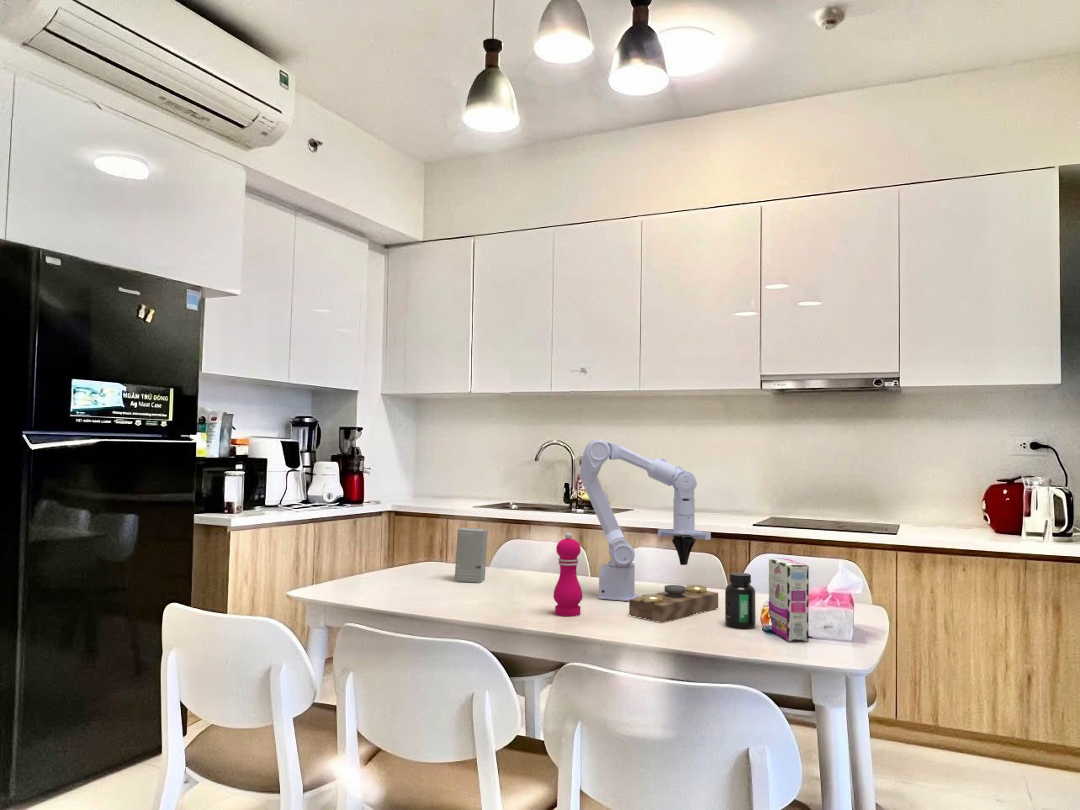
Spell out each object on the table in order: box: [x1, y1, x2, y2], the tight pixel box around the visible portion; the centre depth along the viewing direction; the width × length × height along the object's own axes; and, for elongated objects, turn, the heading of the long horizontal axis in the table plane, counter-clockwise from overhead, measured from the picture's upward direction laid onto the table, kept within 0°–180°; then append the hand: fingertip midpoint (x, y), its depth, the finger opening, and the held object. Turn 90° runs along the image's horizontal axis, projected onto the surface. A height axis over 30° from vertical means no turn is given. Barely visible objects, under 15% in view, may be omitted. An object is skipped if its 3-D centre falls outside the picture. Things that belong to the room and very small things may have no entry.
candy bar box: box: [768, 557, 810, 643], centre depth 167 cm, size 11×5×16 cm, turn 5°
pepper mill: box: [553, 532, 584, 617], centre depth 187 cm, size 7×7×20 cm
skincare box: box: [454, 527, 489, 584], centre depth 230 cm, size 8×7×16 cm
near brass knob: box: [640, 593, 663, 604], centre depth 183 cm, size 5×5×5 cm
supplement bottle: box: [724, 572, 757, 630], centre depth 176 cm, size 7×7×12 cm
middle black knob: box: [663, 584, 686, 598], centre depth 190 cm, size 5×5×5 cm
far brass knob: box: [685, 584, 708, 594], centre depth 196 cm, size 5×5×5 cm
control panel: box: [628, 586, 719, 623], centre depth 189 cm, size 24×10×4 cm, turn 134°
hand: (683, 564), depth 206 cm, fingers closed
